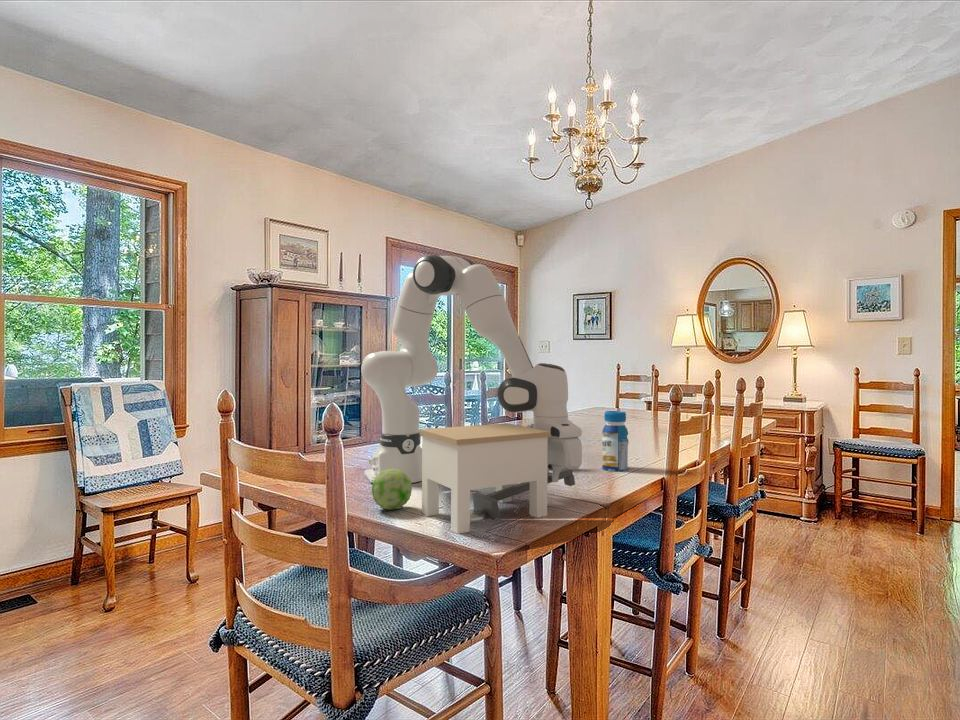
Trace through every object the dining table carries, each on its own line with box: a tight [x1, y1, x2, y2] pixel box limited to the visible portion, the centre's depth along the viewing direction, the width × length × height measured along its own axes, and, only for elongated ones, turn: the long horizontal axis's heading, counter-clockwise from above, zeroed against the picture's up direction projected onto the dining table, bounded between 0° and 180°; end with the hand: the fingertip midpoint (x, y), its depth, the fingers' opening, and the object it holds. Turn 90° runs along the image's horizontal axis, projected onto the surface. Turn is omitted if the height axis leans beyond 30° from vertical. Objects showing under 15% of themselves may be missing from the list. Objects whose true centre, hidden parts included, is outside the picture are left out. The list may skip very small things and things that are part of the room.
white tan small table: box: [419, 422, 551, 535], centre depth 132 cm, size 19×25×20 cm
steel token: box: [470, 508, 487, 524], centre depth 130 cm, size 7×7×1 cm
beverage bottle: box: [601, 410, 629, 473], centre depth 180 cm, size 8×8×20 cm
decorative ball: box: [371, 469, 413, 511], centre depth 137 cm, size 10×10×10 cm
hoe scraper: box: [471, 468, 576, 521], centre depth 139 cm, size 28×9×4 cm, turn 121°
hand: (550, 480), depth 143 cm, fingers closed on hoe scraper, 2 cm apart
